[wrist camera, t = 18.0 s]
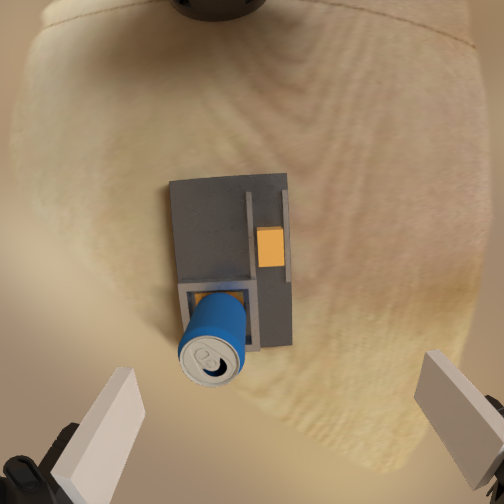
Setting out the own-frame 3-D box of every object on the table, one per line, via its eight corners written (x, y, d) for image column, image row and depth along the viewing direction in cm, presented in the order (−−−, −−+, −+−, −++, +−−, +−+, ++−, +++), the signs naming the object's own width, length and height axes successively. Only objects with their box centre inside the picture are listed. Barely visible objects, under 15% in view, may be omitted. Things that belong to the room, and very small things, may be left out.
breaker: (256, 227, 37) (257, 230, 34) (280, 226, 37) (283, 229, 34) (258, 260, 38) (259, 267, 35) (281, 259, 38) (284, 265, 35)
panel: (173, 181, 38) (165, 181, 35) (284, 173, 38) (288, 172, 35) (190, 342, 43) (185, 354, 39) (290, 338, 43) (293, 350, 39)
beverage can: (216, 346, 40) (205, 400, 29) (185, 309, 39) (161, 354, 28) (256, 319, 40) (258, 370, 28) (225, 280, 39) (214, 318, 27)
